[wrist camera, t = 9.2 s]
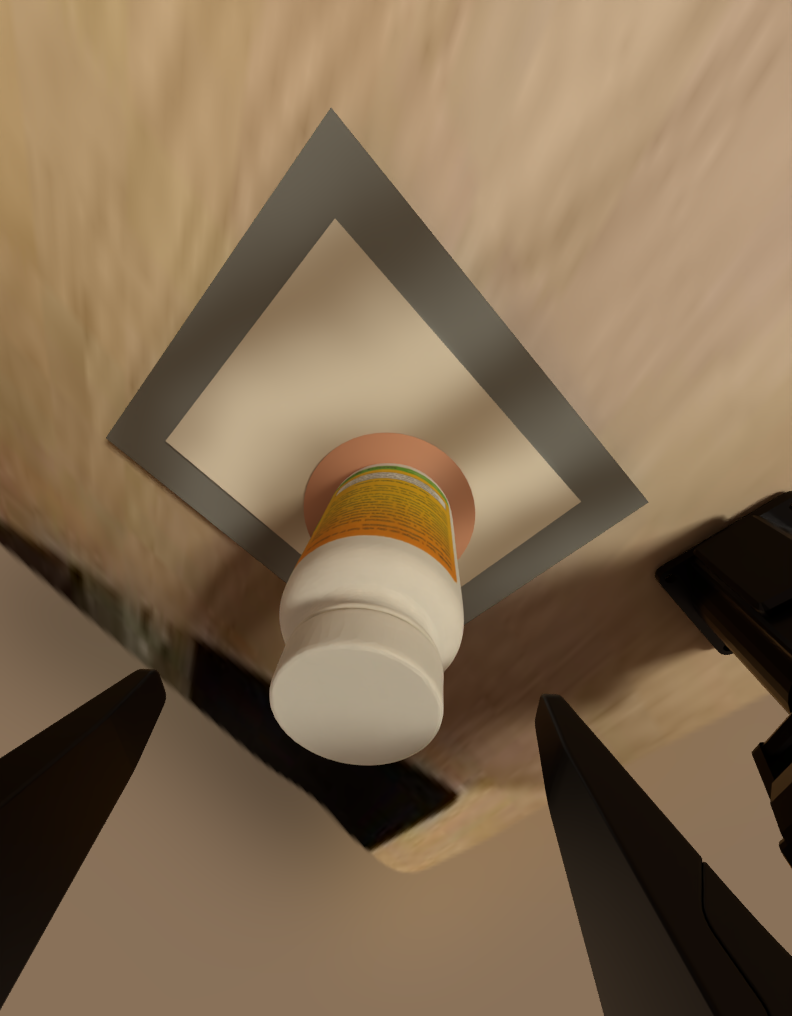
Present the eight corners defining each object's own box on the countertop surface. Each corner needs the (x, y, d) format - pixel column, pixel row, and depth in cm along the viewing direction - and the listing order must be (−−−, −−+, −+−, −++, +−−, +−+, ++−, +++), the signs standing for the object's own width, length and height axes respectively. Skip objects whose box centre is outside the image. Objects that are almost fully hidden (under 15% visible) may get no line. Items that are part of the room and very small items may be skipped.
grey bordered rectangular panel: (639, 494, 18) (652, 505, 17) (396, 659, 23) (394, 675, 22) (336, 119, 13) (329, 102, 12) (118, 433, 18) (100, 439, 17)
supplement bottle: (314, 474, 17) (194, 636, 8) (438, 447, 16) (450, 597, 7) (350, 577, 19) (284, 793, 10) (461, 558, 18) (492, 777, 10)
